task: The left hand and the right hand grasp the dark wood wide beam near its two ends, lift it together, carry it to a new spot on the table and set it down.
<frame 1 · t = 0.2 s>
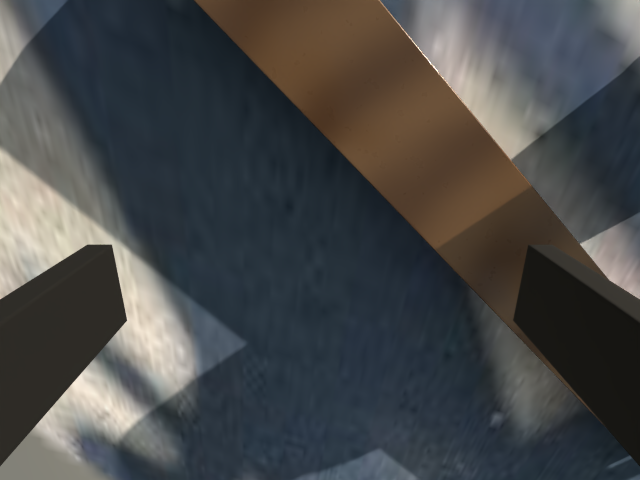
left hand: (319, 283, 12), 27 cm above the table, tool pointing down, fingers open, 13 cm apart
wide beam: (483, 229, 40), on the table
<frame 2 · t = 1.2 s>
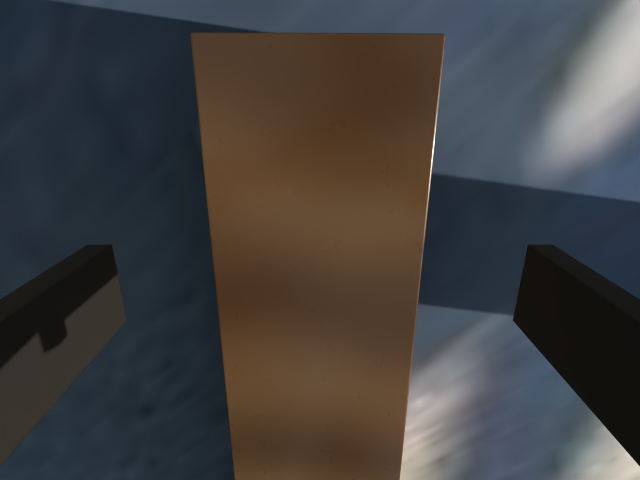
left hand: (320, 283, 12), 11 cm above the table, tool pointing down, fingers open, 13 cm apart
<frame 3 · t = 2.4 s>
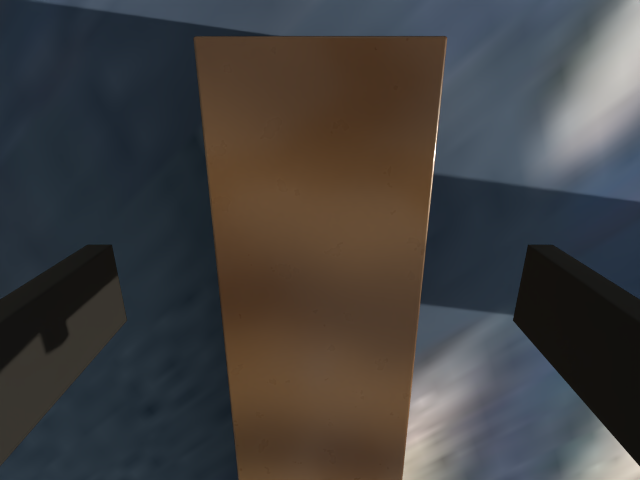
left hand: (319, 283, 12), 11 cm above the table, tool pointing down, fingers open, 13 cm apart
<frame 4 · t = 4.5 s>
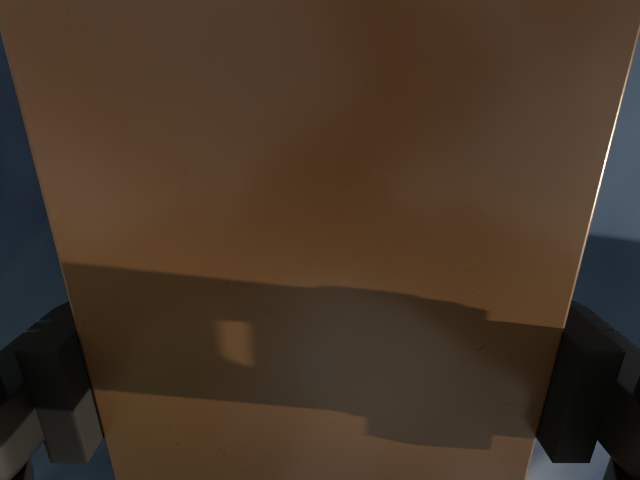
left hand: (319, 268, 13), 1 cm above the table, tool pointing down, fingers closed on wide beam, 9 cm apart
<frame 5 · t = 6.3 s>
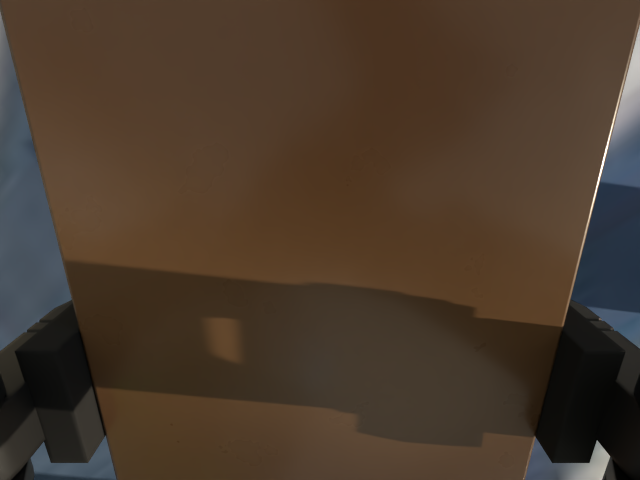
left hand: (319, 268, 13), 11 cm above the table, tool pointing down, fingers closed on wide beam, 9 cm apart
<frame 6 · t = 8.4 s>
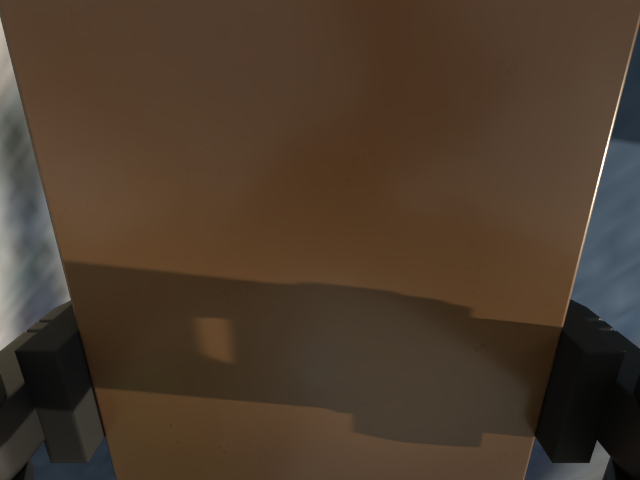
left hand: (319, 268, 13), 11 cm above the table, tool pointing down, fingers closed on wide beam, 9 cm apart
when the left hand's fingers open (2 cm above the table, at t = 10.0 s): wide beam drops 1 cm, on the table.
when the right hand's fingers open (2 cm above the table, at t = 10.0 s): wide beam drops 1 cm, on the table.
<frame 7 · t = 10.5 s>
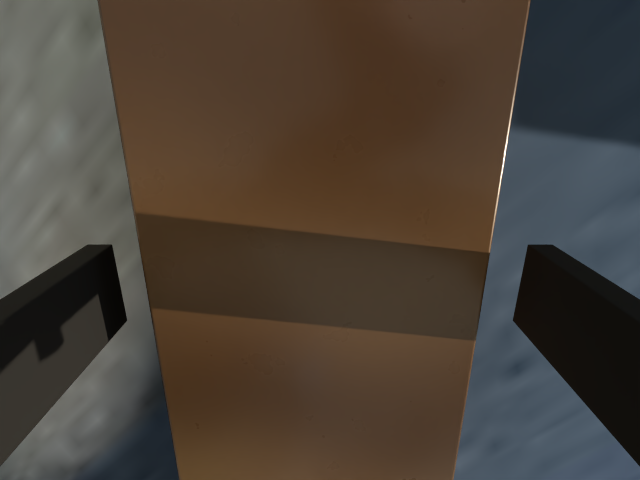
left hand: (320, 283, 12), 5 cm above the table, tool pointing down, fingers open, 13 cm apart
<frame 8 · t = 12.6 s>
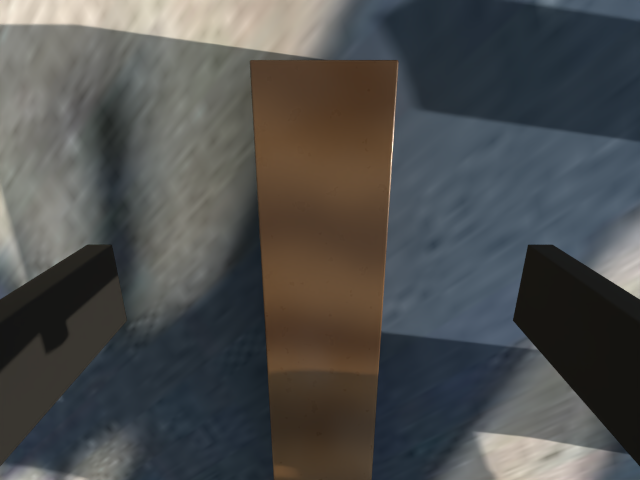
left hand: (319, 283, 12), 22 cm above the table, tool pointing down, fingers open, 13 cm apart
wide beam: (322, 447, 44), on the table
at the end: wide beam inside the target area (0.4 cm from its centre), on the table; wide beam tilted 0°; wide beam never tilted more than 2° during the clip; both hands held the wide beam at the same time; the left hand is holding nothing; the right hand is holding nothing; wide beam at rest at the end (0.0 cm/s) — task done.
